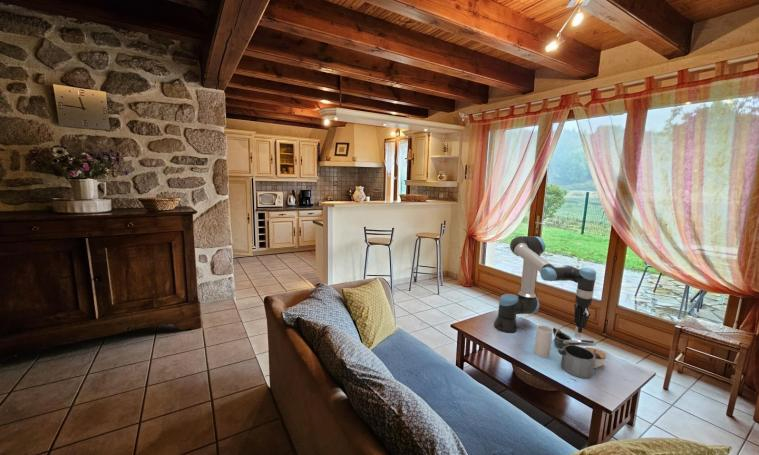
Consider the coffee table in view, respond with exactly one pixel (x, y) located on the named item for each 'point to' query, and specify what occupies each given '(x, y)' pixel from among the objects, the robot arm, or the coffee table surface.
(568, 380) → the coffee table surface
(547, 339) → the cup
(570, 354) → the pot
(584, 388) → the coffee table surface
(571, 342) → the lid
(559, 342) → the mug
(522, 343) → the coffee table surface
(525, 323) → the coffee table surface
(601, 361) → the lidded jar
